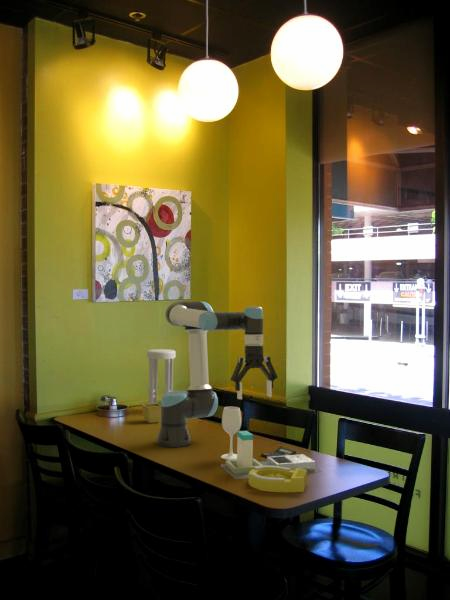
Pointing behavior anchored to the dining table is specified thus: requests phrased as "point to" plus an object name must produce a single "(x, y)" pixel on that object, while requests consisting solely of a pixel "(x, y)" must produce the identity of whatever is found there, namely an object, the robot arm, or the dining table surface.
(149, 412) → the flower pot
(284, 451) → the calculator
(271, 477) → the ashtray
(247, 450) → the cream green box
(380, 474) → the dining table surface
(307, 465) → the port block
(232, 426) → the wineglass
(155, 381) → the stool
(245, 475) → the mat
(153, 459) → the dining table surface
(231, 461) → the grey square tray
